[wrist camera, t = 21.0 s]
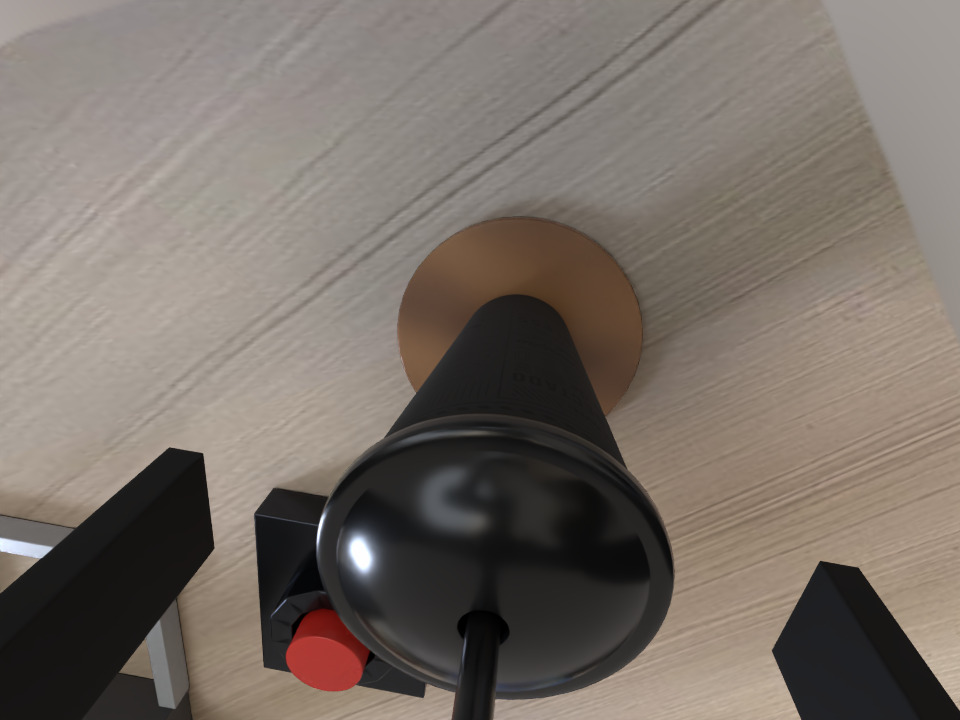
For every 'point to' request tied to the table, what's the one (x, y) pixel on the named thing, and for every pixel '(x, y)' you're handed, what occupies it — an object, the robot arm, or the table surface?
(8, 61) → the table surface
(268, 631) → the control block
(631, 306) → the coaster
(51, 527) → the coffee machine
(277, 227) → the table surface
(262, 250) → the table surface
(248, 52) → the table surface
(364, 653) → the stop button
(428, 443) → the drinking cup
